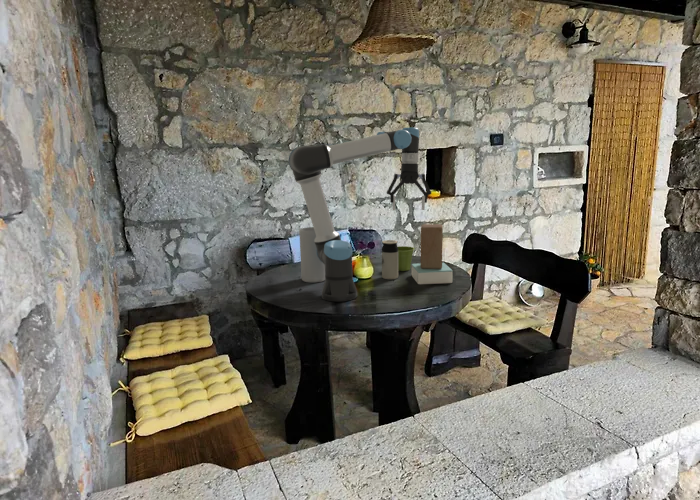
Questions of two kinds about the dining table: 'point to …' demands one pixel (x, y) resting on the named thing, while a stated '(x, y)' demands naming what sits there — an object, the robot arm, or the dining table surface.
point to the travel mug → (389, 259)
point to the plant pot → (404, 257)
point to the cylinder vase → (310, 257)
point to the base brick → (432, 274)
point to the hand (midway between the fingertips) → (408, 210)
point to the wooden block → (431, 246)
